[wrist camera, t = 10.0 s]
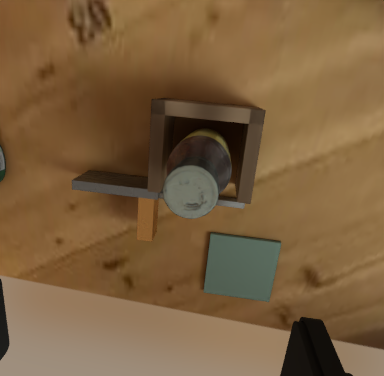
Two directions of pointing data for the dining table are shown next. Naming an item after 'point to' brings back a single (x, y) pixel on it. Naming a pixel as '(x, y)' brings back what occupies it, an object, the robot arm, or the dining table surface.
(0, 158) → the coffee jar
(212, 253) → the mat
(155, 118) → the cradle
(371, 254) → the dining table surface
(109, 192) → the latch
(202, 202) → the sauce bottle
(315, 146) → the dining table surface
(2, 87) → the dining table surface
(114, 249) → the dining table surface
